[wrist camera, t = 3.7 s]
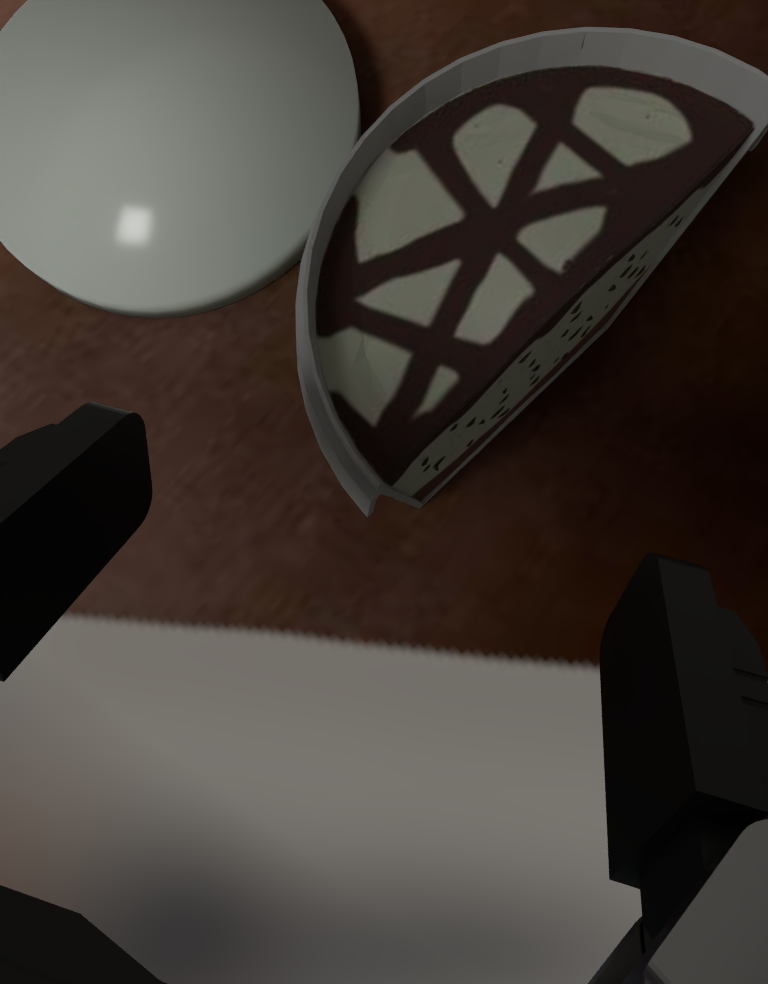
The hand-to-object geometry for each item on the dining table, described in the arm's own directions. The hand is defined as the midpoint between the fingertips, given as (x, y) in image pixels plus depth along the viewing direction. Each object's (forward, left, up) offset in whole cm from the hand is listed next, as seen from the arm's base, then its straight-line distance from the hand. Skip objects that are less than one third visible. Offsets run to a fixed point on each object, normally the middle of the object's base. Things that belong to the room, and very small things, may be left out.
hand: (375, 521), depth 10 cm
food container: (0, -7, -12) cm, 14 cm away
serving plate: (+13, -13, -12) cm, 22 cm away
